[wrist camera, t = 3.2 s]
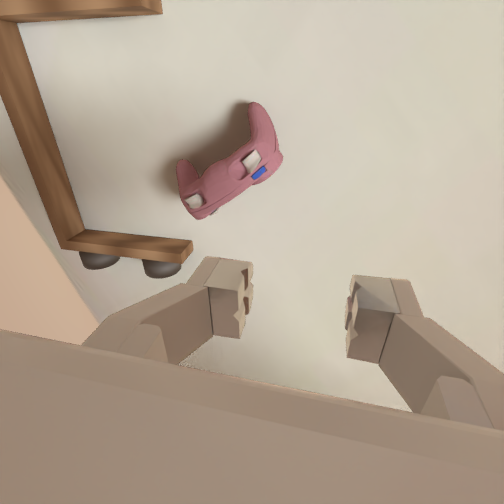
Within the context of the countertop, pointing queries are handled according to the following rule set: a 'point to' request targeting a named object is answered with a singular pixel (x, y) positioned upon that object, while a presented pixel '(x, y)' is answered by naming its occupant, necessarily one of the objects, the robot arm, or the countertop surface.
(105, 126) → the countertop surface
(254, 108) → the video game controller
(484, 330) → the countertop surface
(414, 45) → the countertop surface
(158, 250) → the chassis bay
